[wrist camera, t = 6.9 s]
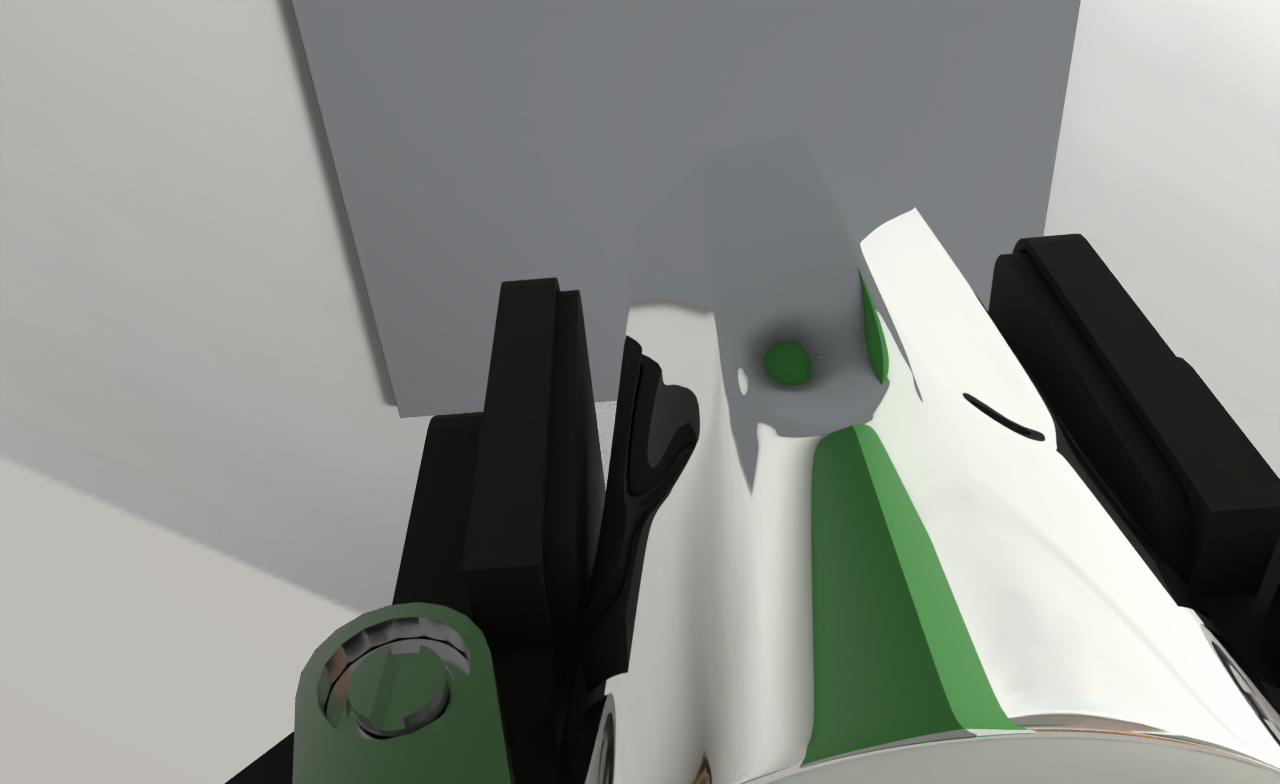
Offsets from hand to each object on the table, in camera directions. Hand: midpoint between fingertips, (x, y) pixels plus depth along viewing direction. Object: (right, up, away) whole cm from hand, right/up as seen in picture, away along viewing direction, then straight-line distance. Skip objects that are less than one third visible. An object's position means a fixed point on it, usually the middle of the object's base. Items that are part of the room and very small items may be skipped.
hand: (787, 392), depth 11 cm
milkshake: (0, +1, +2) cm, 2 cm away
